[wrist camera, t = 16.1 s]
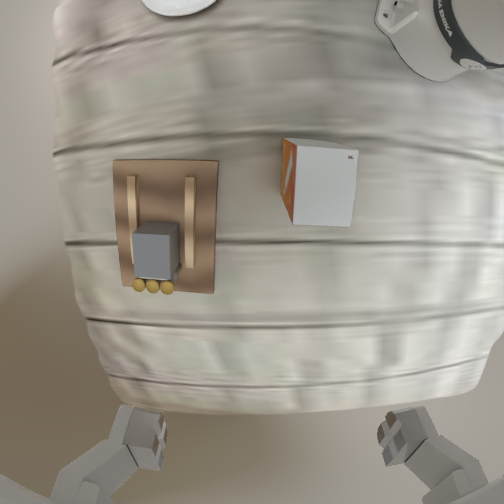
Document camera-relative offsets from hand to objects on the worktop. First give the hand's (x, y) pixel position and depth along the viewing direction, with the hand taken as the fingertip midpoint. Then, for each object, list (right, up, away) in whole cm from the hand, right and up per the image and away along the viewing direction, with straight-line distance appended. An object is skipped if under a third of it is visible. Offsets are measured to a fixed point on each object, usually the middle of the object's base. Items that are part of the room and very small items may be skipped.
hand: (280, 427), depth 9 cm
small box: (+6, +18, +31) cm, 36 cm away
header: (-14, +10, +34) cm, 38 cm away
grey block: (-14, +8, +34) cm, 37 cm away
